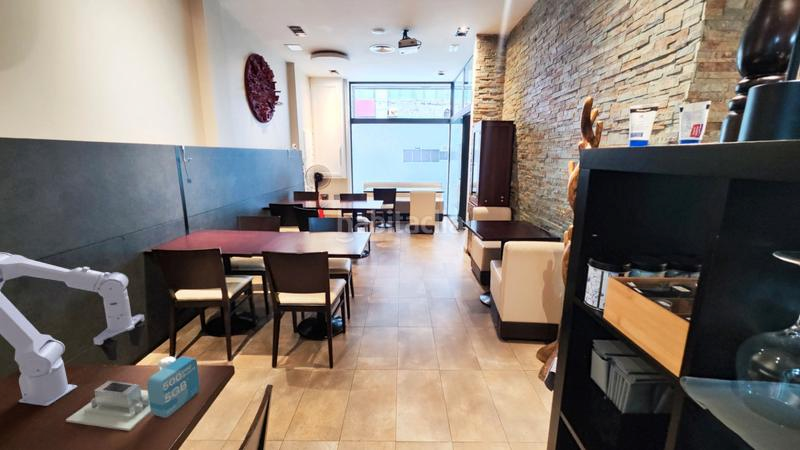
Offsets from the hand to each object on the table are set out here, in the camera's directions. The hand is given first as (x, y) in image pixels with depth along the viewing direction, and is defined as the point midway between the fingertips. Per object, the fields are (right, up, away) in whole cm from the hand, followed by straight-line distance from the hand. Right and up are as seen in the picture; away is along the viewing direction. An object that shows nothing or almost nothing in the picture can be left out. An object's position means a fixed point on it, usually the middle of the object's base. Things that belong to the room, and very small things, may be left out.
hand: (124, 352), depth 101 cm
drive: (+7, -11, -10) cm, 17 cm away
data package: (+22, -12, -7) cm, 26 cm away
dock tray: (+7, -12, -10) cm, 17 cm away
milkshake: (+14, -10, +1) cm, 18 cm away
